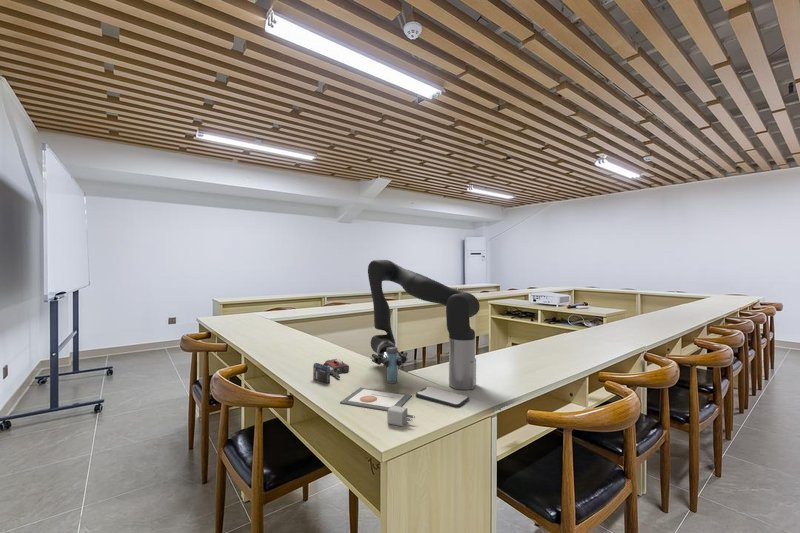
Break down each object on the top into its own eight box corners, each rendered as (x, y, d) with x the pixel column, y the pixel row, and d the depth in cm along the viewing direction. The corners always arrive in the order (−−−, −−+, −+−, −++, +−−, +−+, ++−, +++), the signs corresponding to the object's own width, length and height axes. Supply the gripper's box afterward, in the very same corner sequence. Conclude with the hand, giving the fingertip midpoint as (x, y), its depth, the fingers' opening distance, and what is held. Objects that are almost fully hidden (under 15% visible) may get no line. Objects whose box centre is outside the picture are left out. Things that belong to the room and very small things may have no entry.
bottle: (399, 381, 124) (399, 347, 124) (395, 384, 121) (395, 349, 121) (389, 380, 126) (389, 346, 126) (385, 383, 122) (384, 348, 122)
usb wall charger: (393, 418, 101) (393, 404, 101) (416, 422, 98) (416, 408, 98) (387, 424, 97) (387, 410, 97) (411, 429, 94) (411, 414, 94)
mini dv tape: (313, 379, 135) (313, 363, 135) (316, 378, 136) (316, 362, 136) (326, 384, 130) (326, 367, 129) (330, 383, 131) (330, 366, 131)
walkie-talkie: (318, 368, 151) (336, 381, 134) (318, 357, 150) (336, 369, 134) (338, 364, 155) (357, 377, 138) (338, 354, 155) (357, 366, 138)
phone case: (470, 401, 115) (427, 390, 124) (470, 396, 115) (428, 385, 124) (458, 410, 108) (414, 398, 117) (458, 405, 108) (414, 393, 117)
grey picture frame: (411, 396, 118) (411, 394, 118) (396, 412, 105) (396, 410, 105) (360, 388, 125) (360, 386, 125) (340, 403, 112) (340, 401, 112)
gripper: (369, 343, 136) (372, 354, 119) (405, 341, 139) (413, 351, 121) (369, 362, 136) (372, 376, 119) (405, 360, 139) (413, 373, 121)
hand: (393, 363), depth 121 cm, fingers closed on bottle, 3 cm apart
